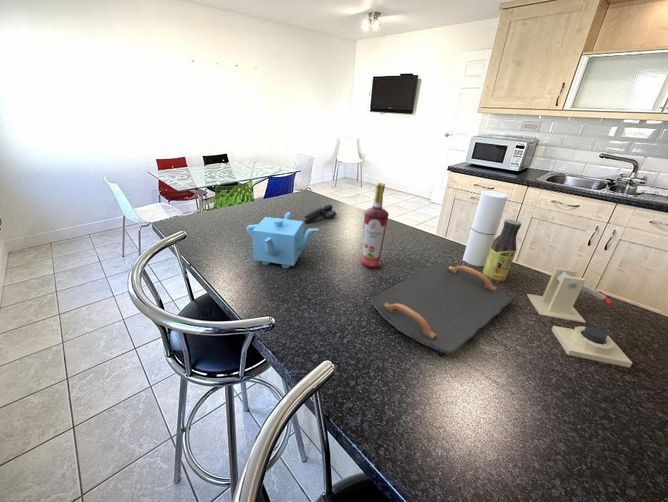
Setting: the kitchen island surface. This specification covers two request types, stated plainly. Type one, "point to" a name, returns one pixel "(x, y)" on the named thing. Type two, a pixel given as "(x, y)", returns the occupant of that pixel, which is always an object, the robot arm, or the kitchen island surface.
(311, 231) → the teakettle
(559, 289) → the cream upright bracket stand
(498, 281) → the sauce bottle
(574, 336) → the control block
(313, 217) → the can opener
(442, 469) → the kitchen island surface
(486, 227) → the cylindrical container
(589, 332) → the dark round button
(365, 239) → the liquor
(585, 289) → the red tipped lever
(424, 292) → the serving tray
